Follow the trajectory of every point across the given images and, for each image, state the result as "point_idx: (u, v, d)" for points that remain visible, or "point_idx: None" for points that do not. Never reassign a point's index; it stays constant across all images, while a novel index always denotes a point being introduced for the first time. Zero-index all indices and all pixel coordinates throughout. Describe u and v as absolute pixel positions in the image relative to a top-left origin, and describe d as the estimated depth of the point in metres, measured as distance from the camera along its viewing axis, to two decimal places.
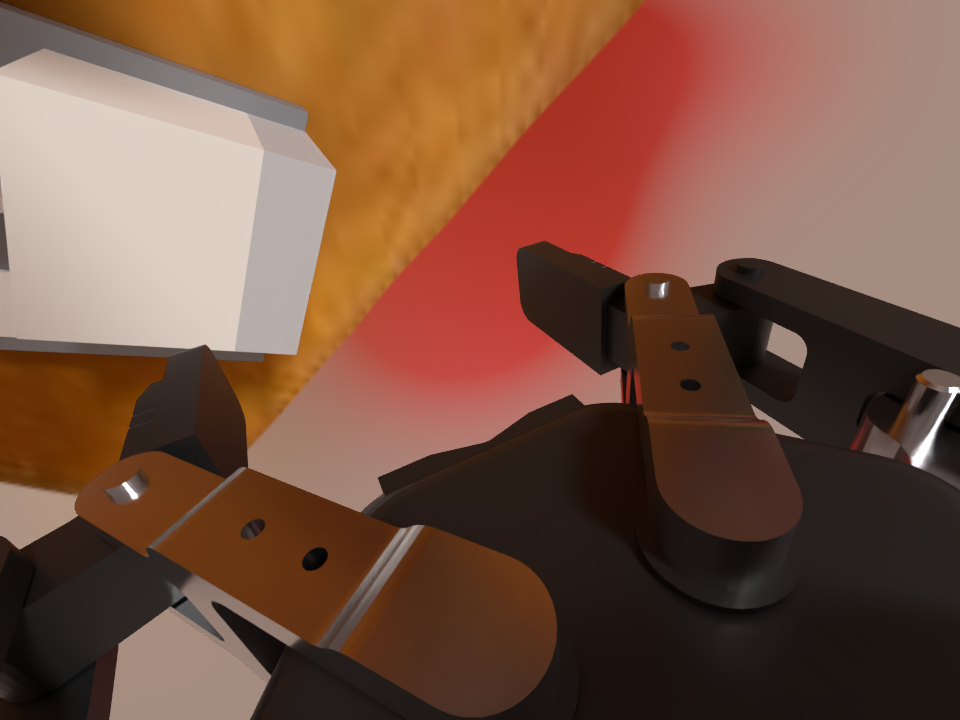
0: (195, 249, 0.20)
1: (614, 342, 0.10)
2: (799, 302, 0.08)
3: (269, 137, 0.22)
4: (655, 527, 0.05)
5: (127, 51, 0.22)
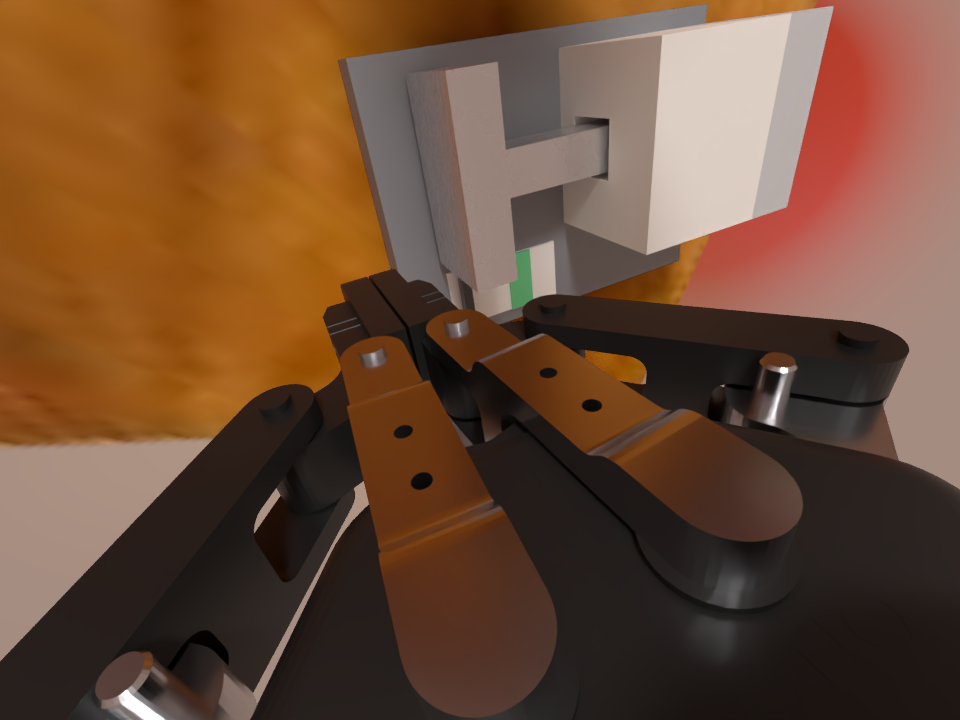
0: (742, 131, 0.24)
1: (432, 378, 0.10)
2: (621, 327, 0.08)
3: (743, 19, 0.25)
4: (655, 527, 0.05)
5: (599, 20, 0.27)
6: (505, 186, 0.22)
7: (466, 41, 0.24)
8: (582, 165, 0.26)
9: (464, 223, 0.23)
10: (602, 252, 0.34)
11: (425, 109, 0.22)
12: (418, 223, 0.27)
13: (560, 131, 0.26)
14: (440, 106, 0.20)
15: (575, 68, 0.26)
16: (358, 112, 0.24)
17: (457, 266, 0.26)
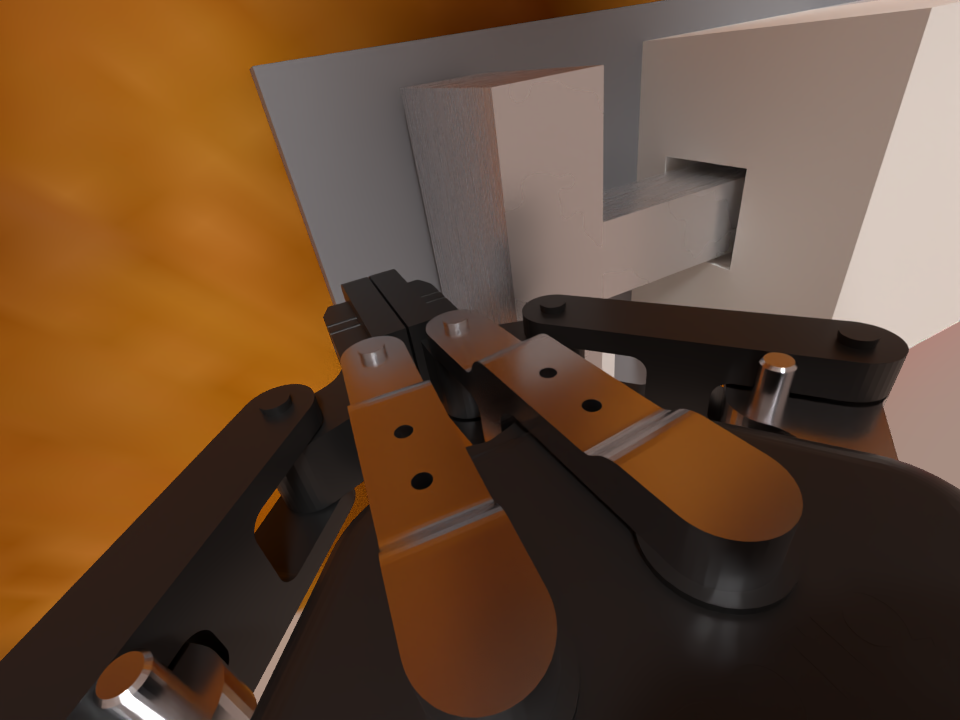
0: None
1: (432, 379, 0.10)
2: (621, 327, 0.08)
3: None
4: (655, 527, 0.05)
5: None
6: None
7: (486, 31, 0.13)
8: (709, 240, 0.15)
9: None
10: None
11: (440, 157, 0.12)
12: None
13: (670, 181, 0.15)
14: (475, 159, 0.10)
15: (674, 76, 0.15)
16: (287, 165, 0.13)
17: None
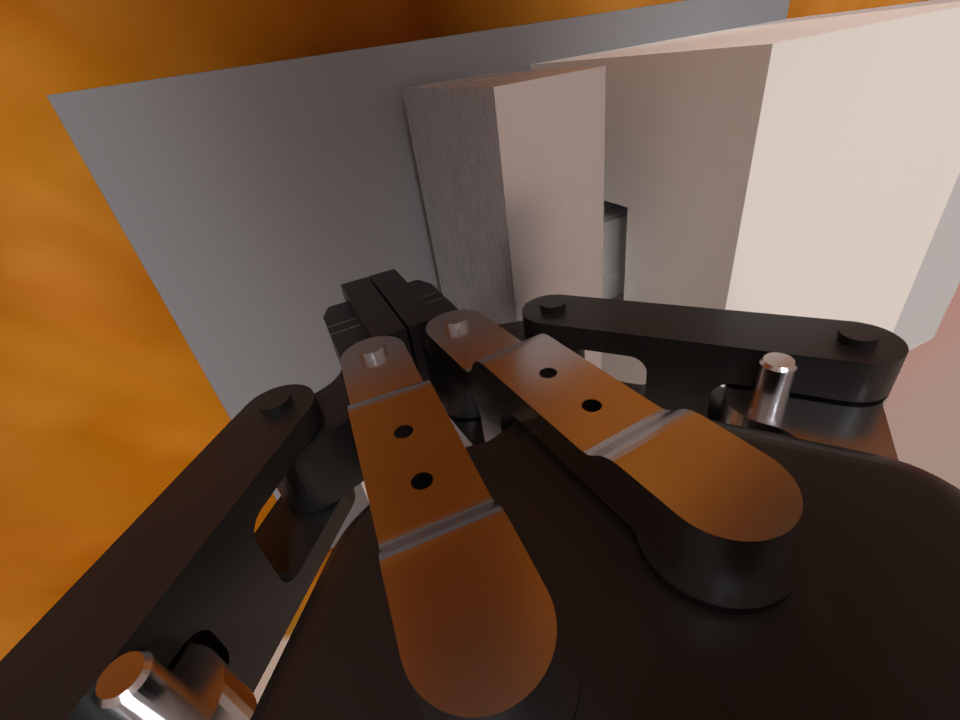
0: (894, 233, 0.12)
1: (432, 379, 0.10)
2: (621, 327, 0.08)
3: (890, 9, 0.13)
4: (655, 527, 0.05)
5: (606, 13, 0.14)
6: None
7: (338, 54, 0.12)
8: None
9: None
10: None
11: (441, 157, 0.12)
12: (281, 379, 0.15)
13: None
14: (476, 158, 0.10)
15: None
16: (110, 202, 0.11)
17: None
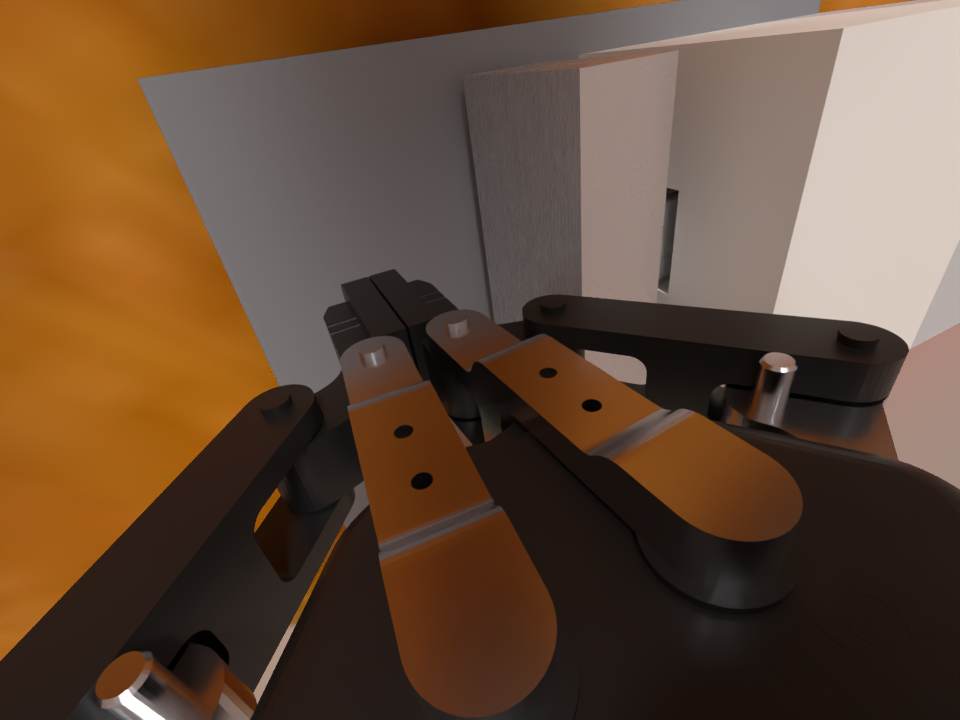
0: (934, 215, 0.13)
1: (432, 379, 0.10)
2: (621, 327, 0.08)
3: (929, 1, 0.13)
4: (655, 527, 0.05)
5: (651, 5, 0.15)
6: (652, 283, 0.12)
7: (403, 42, 0.12)
8: None
9: None
10: None
11: (505, 141, 0.12)
12: (333, 359, 0.16)
13: None
14: (550, 139, 0.10)
15: None
16: (186, 183, 0.12)
17: None
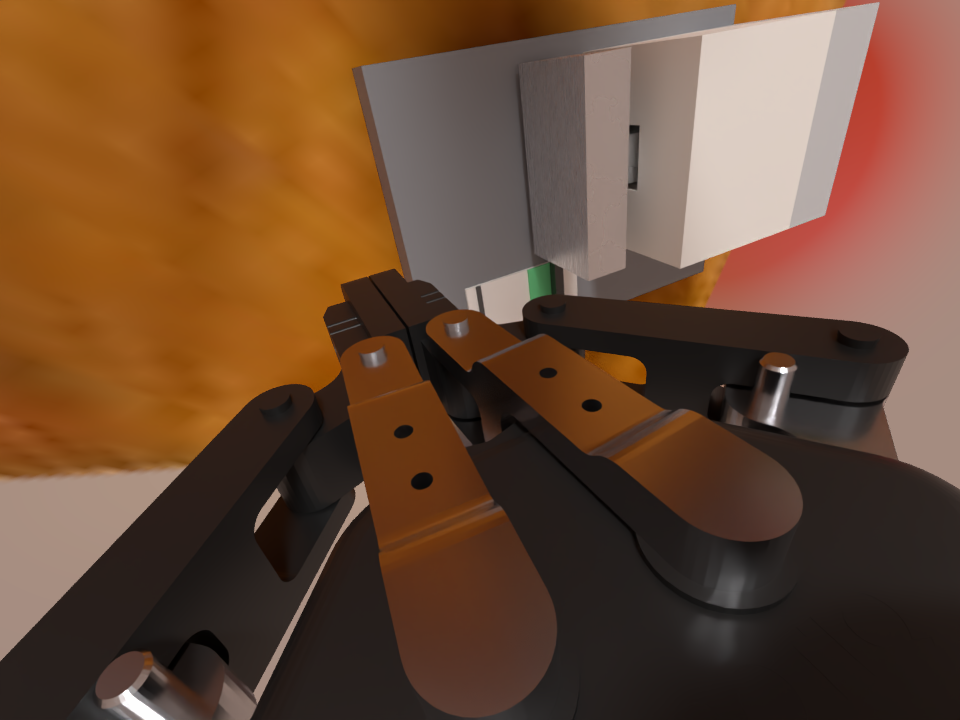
0: (781, 136, 0.23)
1: (432, 378, 0.10)
2: (621, 327, 0.08)
3: (780, 18, 0.24)
4: (655, 527, 0.05)
5: (625, 23, 0.25)
6: (624, 172, 0.22)
7: (487, 46, 0.23)
8: None
9: (581, 210, 0.23)
10: None
11: (544, 97, 0.22)
12: (436, 237, 0.26)
13: None
14: (569, 92, 0.21)
15: None
16: (374, 122, 0.22)
17: (561, 256, 0.26)
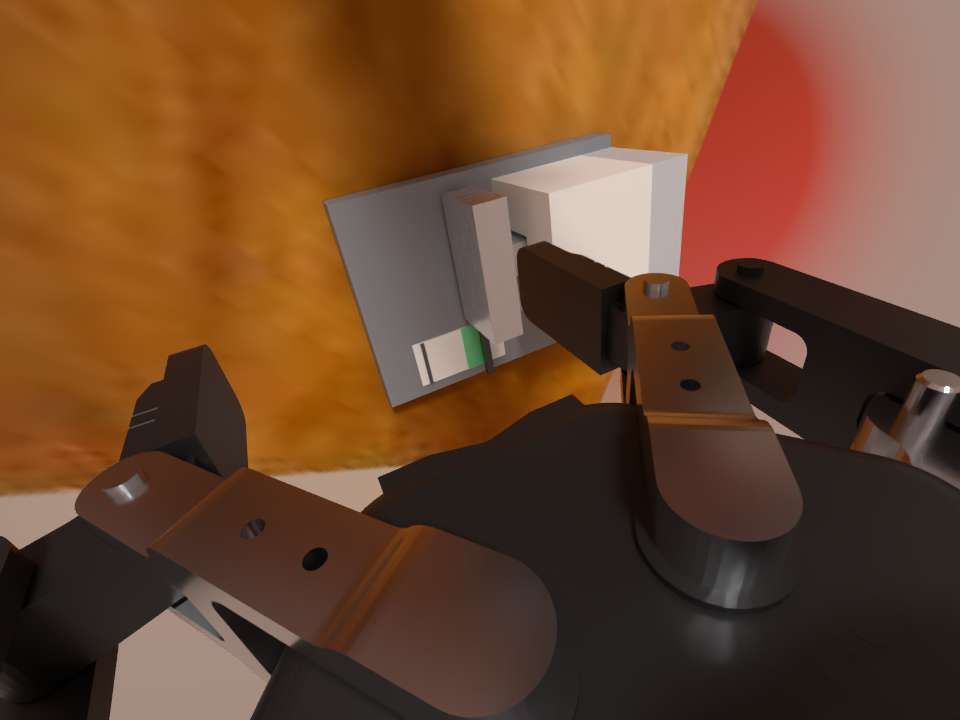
0: (626, 244, 0.32)
1: (614, 342, 0.10)
2: (799, 302, 0.08)
3: (627, 158, 0.33)
4: (655, 527, 0.05)
5: (522, 156, 0.35)
6: (513, 272, 0.32)
7: (417, 183, 0.32)
8: None
9: (484, 297, 0.32)
10: None
11: (456, 220, 0.32)
12: (387, 311, 0.36)
13: None
14: (468, 223, 0.30)
15: None
16: (337, 239, 0.32)
17: (478, 324, 0.35)
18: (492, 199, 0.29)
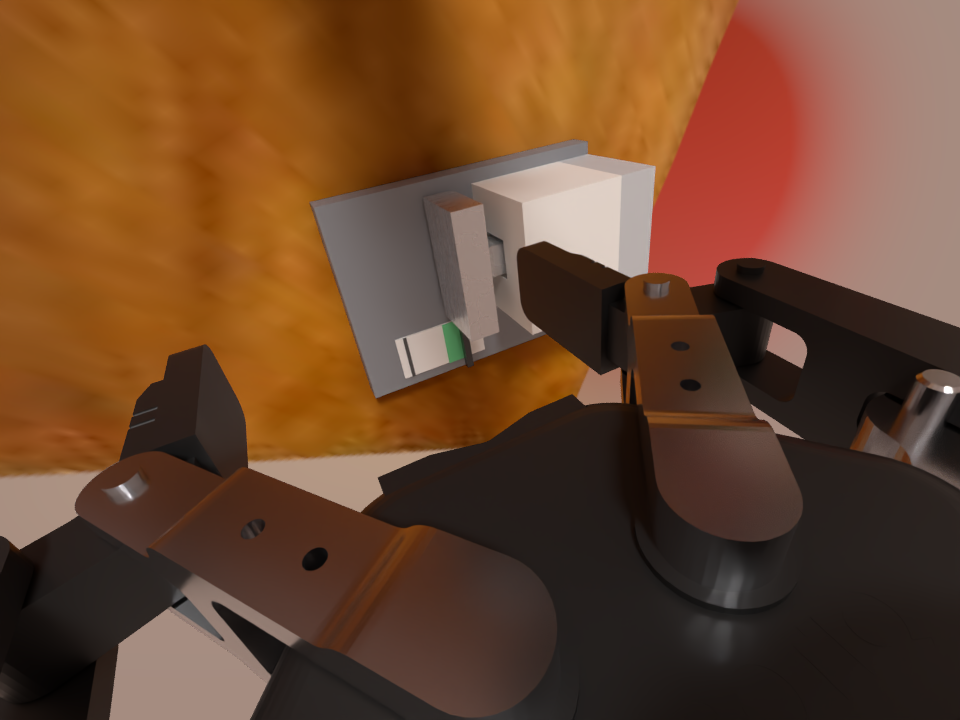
0: (596, 249, 0.34)
1: (614, 342, 0.10)
2: (799, 302, 0.08)
3: (600, 167, 0.35)
4: (655, 527, 0.05)
5: (501, 162, 0.37)
6: (489, 274, 0.34)
7: (400, 187, 0.34)
8: None
9: (462, 297, 0.34)
10: None
11: (436, 224, 0.34)
12: (371, 307, 0.37)
13: None
14: (447, 228, 0.32)
15: (481, 199, 0.36)
16: (323, 239, 0.34)
17: (457, 321, 0.37)
18: (469, 206, 0.31)
